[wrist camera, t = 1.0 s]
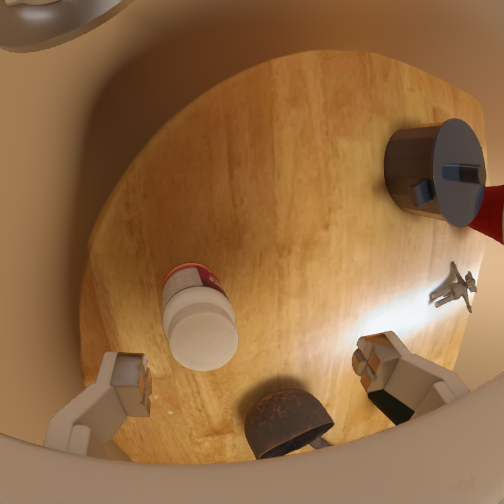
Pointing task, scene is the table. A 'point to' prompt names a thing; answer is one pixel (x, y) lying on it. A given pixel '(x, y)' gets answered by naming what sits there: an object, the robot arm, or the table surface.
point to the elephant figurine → (456, 289)
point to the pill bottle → (198, 318)
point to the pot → (412, 169)
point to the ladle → (286, 424)
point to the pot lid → (457, 172)
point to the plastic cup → (491, 214)
